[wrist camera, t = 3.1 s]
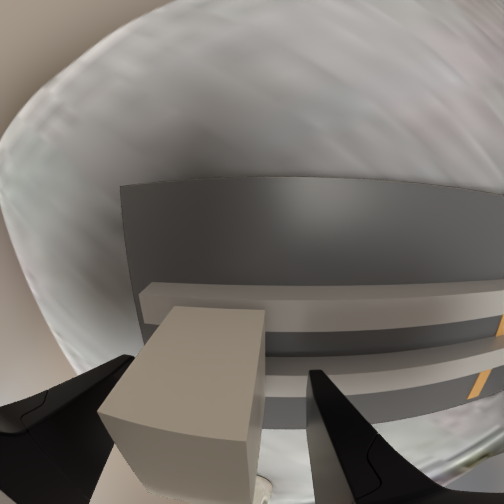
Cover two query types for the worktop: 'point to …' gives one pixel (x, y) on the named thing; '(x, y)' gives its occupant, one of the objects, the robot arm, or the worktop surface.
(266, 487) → the beer glass
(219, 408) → the fader knob
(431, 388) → the fader console
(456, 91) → the worktop surface
